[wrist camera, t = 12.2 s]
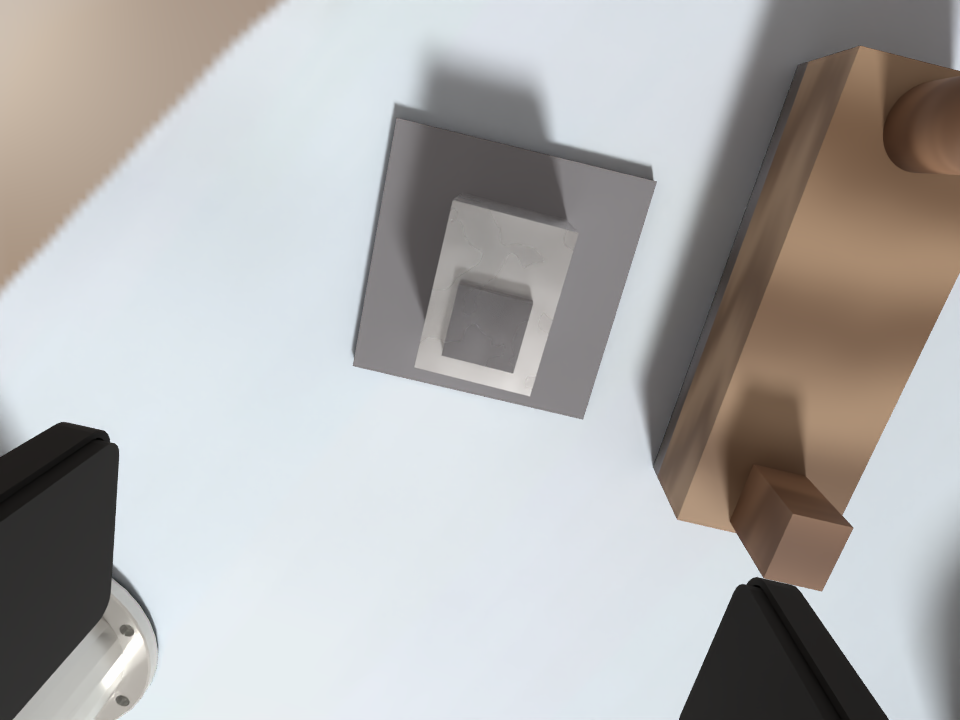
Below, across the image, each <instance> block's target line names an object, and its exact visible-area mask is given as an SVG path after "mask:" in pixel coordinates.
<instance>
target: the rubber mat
mask: <svg viewBox="0 0 960 720" xmlns="http://www.w3.org/2000/svg"><path fill="white" fill-rule="evenodd" d="M656 183H657V182H656V181H652V180H648V179H644V178H640V177H636V176H632V175H628V174H624V173H620V172H616V171H612V170H607V169H603V168H599V167H595V166H591V165H587V164H583V163H579V162H575V161H571V160H567V159H563V158H559V157H554V156H550V155H546V154H542V153H538V152H534V151H530V150H526V149H522V148H518V147H514V146H510V145H506V144H501V143H497V142H493V141H489V140H485V139H481V138H477V137H473V136H469V135H465V134H461V133H457V132H453V131H448V130H444V129H440V128H436V127H432V126H428V125H424V124H420V123H416V122H412V121H408V120H404V119H400V118H396V123H395V129H394V135H393V140H392V146H391V152H390V157H389V163H388V169H387V174H386V180H385V186H384V192H383V197H382V203H381V209H380V214H379V220H378V226H377V231H376V237H375V243H374V248H373V254H372V260H371V265H370V271H369V277H368V282H367V288H366V294H365V300H364V305H363V311H362V317H361V322H360V328H359V334H358V339H357V345H356V351H355V356H354V362H353V366H355V367H360V368H364V369H368V370H373V371H377V372H381V373H386V374H390V375H394V376H398V377H403V378H407V379H411V380H416V381H420V382H424V383H429V384H433V385H437V386H441V387H446V388H450V389H454V390H459V391H463V392H467V393H472V394H476V395H480V396H484V397H489V398H493V399H497V400H502V401H506V402H510V403H515V404H519V405H523V406H527V407H532V408H536V409H540V410H545V411H549V412H553V413H558V414H562V415H566V416H570V417H575V418H579V419H583V418H584V414H585V411H586V408H587V405H588V401H589V398H590V395H591V392H592V389H593V385H594V382H595V379H596V376H597V373H598V369H599V366H600V363H601V360H602V356H603V353H604V350H605V347H606V344H607V340H608V337H609V334H610V331H611V328H612V324H613V321H614V318H615V315H616V311H617V308H618V305H619V302H620V299H621V295H622V292H623V289H624V286H625V283H626V279H627V276H628V273H629V270H630V266H631V263H632V260H633V257H634V254H635V250H636V247H637V244H638V241H639V238H640V234H641V231H642V228H643V225H644V221H645V218H646V215H647V212H648V209H649V205H650V202H651V199H652V196H653V192H654V189H655V186H656ZM461 193H466V194H470V195H473V196H477V197H481V198H485V199H489V200H492V201H496V202H500V203H504V204H508V205H511V206H515V207H519V208H523V209H527V210H531V211H534V212H538V213H542V214H546V215H550V216H553V217H557V218H561V219H565V220H568V222H569V223H570V224H571V225H572V226H573V227H574V228H575V229H576V230H577V232H578V233H579V234H578V237H577V241H576V244H575V247H574V251H573V254H572V257H571V261H570V264H569V267H568V271H567V274H566V277H565V281H564V284H563V287H562V291H561V294H560V297H559V301H558V304H557V307H556V311H555V314H554V318H553V321H552V324H551V328H550V331H549V334H548V338H547V341H546V344H545V348H544V351H543V354H542V358H541V361H540V364H539V368H538V371H537V374H536V378H535V381H534V384H533V388H532V391H531V394H530V396H526V395H522V394H518V393H515V392H511V391H507V390H503V389H499V388H495V387H491V386H487V385H483V384H479V383H475V382H471V381H467V380H463V379H459V378H455V377H451V376H447V375H443V374H439V373H435V372H431V371H427V370H423V369H419V368H415V367H414V366H415V362H416V358H417V353H418V349H419V345H420V340H421V336H422V332H423V327H424V323H425V319H426V314H427V310H428V306H429V301H430V297H431V293H432V288H433V284H434V280H435V275H436V271H437V267H438V262H439V258H440V254H441V249H442V245H443V241H444V236H445V232H446V228H447V223H448V219H449V215H450V210H451V206H452V202H453V200H454V199H455V198H456V197H457V196H458V195H460V194H461Z"/></svg>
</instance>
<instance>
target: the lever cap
mask: <svg viewBox="0 0 960 720" xmlns="http://www.w3.org/2000/svg"><path fill="white" fill-rule="evenodd" d="M578 234H579V233H578V232H577V230H576V229H575V228H574V227H573V226H572V225H571V224H570V223H569V222H568V220H565V219H561V218H557V217H553V216H550V215H546V214H542V213H538V212H534V211H531V210H527V209H523V208H519V207H515V206H511V205H508V204H504V203H500V202H496V201H492V200H489V199H485V198H481V197H477V196H473V195H470V194H466V193H461V194H460V195H458V196H457V197H456V198H455V199H454V200H453V202H452V206H451V210H450V215H449V219H448V223H447V228H446V232H445V236H444V241H443V245H442V249H441V254H440V258H439V262H438V267H437V271H436V275H435V280H434V284H433V288H432V293H431V297H430V301H429V306H428V310H427V314H426V319H425V323H424V327H423V332H422V336H421V340H420V345H419V349H418V353H417V358H416V362H415V366H414V367H415V368H419V369H423V370H427V371H431V372H435V373H439V374H443V375H447V376H451V377H455V378H459V379H463V380H467V381H471V382H475V383H479V384H483V385H487V386H491V387H495V388H499V389H503V390H507V391H511V392H515V393H518V394H522V395H526V396H530V394H531V391H532V388H533V384H534V381H535V378H536V374H537V371H538V368H539V364H540V361H541V358H542V354H543V351H544V348H545V344H546V341H547V338H548V334H549V331H550V328H551V324H552V321H553V318H554V314H555V311H556V307H557V304H558V301H559V297H560V294H561V291H562V287H563V284H564V281H565V277H566V274H567V271H568V267H569V264H570V261H571V257H572V254H573V251H574V247H575V244H576V241H577V237H578Z"/></svg>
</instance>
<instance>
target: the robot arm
mask: <svg viewBox="0 0 960 720" xmlns="http://www.w3.org/2000/svg"><path fill="white" fill-rule="evenodd" d="M118 465H119V449H118V446H117V445H116V444H115V443H110V438H109V436H108V434H107V433H106V432H105V431H103V430H99V429H94V428H90V427H85V426H81V425H76V424H72V423H67V422H61V423H58V424H56V425H54V426H52V427H51V428H49V429H47V430H45V431H44V432H42V433H40V434H39V435H37V436H35V437H34V438H32V439H30V440H29V441H27V442H25V443H23V444H22V445H20V446H18V447H17V448H15V449H13V450H12V451H10V452H8V453H7V454H5V455H3V456H1V457H0V720H116V719H118V718H120V717H121V716H123V715H124V714H126V713H127V712H128V711H130V710H131V709H132V708H133V707H134V706H135V705H136V704H137V703H138V701H139V700H140V699H141V698H142V696H143V695H144V693H145V692H146V690H147V689H148V687H149V686H150V684H151V682H152V680H153V677H154V675H155V672H156V669H157V660H158V649H157V643H156V637H155V634H154V632H153V629H152V626H151V624H150V621H149V619H148V618H147V616H146V615H145V613H144V611H143V610H142V608H141V607H140V605H139V604H138V603H137V601H136V600H135V599H134V598H133V597H132V596H131V595H130V594H129V592H128V591H127V590H126V589H124V588H123V587H122V586H121V585H120V584H118V583H117V582H116V581H115V580H114V579H112V565H113V549H114V532H115V515H116V498H117V482H118ZM679 720H889V719H888V718H887V716H886V715H885V713H884V712H883V710H882V709H881V707H880V706H879V705H878V703H877V702H876V700H875V699H874V697H873V696H872V694H871V693H870V692H869V690H868V689H867V687H866V686H865V684H864V683H863V681H862V680H861V679H860V677H859V676H858V674H857V673H856V671H855V670H854V668H853V667H852V665H851V664H850V663H849V661H848V660H847V658H846V657H845V655H844V654H843V652H842V651H841V650H840V648H839V647H838V645H837V644H836V642H835V641H834V639H833V638H832V637H831V635H830V634H829V632H828V631H827V629H826V628H825V626H824V625H823V624H822V622H821V621H820V619H819V618H818V616H817V615H816V613H815V612H814V611H813V609H812V608H811V606H810V605H809V603H808V602H807V600H806V599H805V598H804V596H803V595H802V593H801V592H800V591H799V590H798V589H797V588H796V587H795V586H793V585H789V584H785V583H780V582H776V581H772V580H767V579H763V578H758V577H756V578H752V579H751V580H750V581H749V582H748V583H747V585H745V584H741V585H739V586H738V587H737V588H736V589H735V591H734V593H733V595H732V597H731V600H730V602H729V604H728V607H727V609H726V611H725V614H724V616H723V618H722V621H721V623H720V625H719V627H718V630H717V632H716V634H715V637H714V639H713V641H712V644H711V646H710V648H709V651H708V653H707V655H706V657H705V660H704V662H703V664H702V667H701V669H700V671H699V674H698V676H697V678H696V680H695V683H694V685H693V687H692V690H691V692H690V694H689V697H688V699H687V701H686V704H685V706H684V708H683V710H682V713H681V715H680V718H679Z"/></svg>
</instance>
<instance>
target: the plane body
mask: <svg viewBox="0 0 960 720" xmlns="http://www.w3.org/2000/svg"><path fill="white" fill-rule="evenodd" d="M959 273H960V71H958V70H954V69H950V68H946V67H942V66H938V65H934V64H930V63H926V62H922V61H918V60H914V59H910V58H906V57H903V56H899V55H895V54H891V53H887V52H883V51H879V50H875V49H871V48H867V47H863V46H858V47H854V48H851V49H848V50H845V51H841V52H838V53H835V54H832V55H829V56H825V57H822V58H819V59H816V60H813V61H809V62H806V63H803V64H800V65H798V67H797V70H796V72H795V75H794V78H793V81H792V83H791V86H790V89H789V92H788V95H787V97H786V100H785V103H784V106H783V108H782V111H781V114H780V117H779V119H778V122H777V125H776V128H775V131H774V133H773V136H772V139H771V142H770V144H769V147H768V150H767V153H766V156H765V158H764V161H763V164H762V167H761V169H760V172H759V175H758V178H757V181H756V183H755V186H754V189H753V192H752V194H751V197H750V200H749V203H748V206H747V208H746V211H745V214H744V217H743V219H742V222H741V225H740V228H739V230H738V233H737V236H736V239H735V242H734V244H733V247H732V250H731V253H730V255H729V258H728V261H727V264H726V267H725V269H724V272H723V275H722V278H721V280H720V283H719V286H718V289H717V292H716V294H715V297H714V300H713V303H712V305H711V308H710V311H709V314H708V317H707V319H706V322H705V325H704V328H703V330H702V333H701V336H700V339H699V341H698V344H697V347H696V350H695V353H694V355H693V358H692V361H691V364H690V366H689V369H688V372H687V375H686V378H685V380H684V383H683V386H682V389H681V391H680V394H679V397H678V400H677V403H676V405H675V408H674V411H673V414H672V416H671V419H670V422H669V425H668V428H667V430H666V433H665V436H664V439H663V441H662V444H661V447H660V450H659V452H658V455H657V458H656V461H655V464H654V466H653V468H654V470H655V473H656V475H657V477H658V479H659V481H660V483H661V486H662V488H663V490H664V492H665V494H666V496H667V499H668V501H669V503H670V505H671V507H672V509H673V512H674V514H675V516H676V518H677V520H681V521H685V522H690V523H694V524H699V525H703V526H707V527H712V528H716V529H720V530H725V531H729V532H734V533H737V535H738V536H739V538H740V540H741V541H742V543H743V545H744V546H745V548H746V550H747V551H748V553H749V555H750V556H751V558H752V560H753V561H754V563H755V565H756V566H757V568H758V570H759V571H760V573H761V575H762V576H763V578H765V579H769V580H774V581H778V582H783V583H787V584H791V585H796V586H800V587H805V588H809V589H814V590H818V591H822V590H823V588H824V586H825V584H826V582H827V580H828V578H829V576H830V574H831V572H832V570H833V568H834V566H835V564H836V562H837V560H838V558H839V556H840V554H841V552H842V550H843V548H844V546H845V544H846V542H847V540H848V538H849V536H850V534H851V532H852V530H853V527H852V526H851V525H850V523H849V522H848V521H847V520H846V519H845V518H844V517H843V516H842V515H843V513H844V511H845V509H846V507H847V505H848V503H849V501H850V498H851V496H852V494H853V492H854V490H855V488H856V486H857V484H858V482H859V480H860V478H861V476H862V474H863V472H864V470H865V467H866V465H867V463H868V461H869V459H870V457H871V455H872V453H873V451H874V449H875V447H876V445H877V443H878V441H879V439H880V436H881V434H882V432H883V430H884V428H885V426H886V424H887V422H888V420H889V418H890V416H891V414H892V412H893V410H894V407H895V405H896V403H897V401H898V399H899V397H900V395H901V393H902V391H903V389H904V387H905V385H906V383H907V381H908V379H909V376H910V374H911V372H912V370H913V368H914V366H915V364H916V362H917V360H918V358H919V356H920V354H921V352H922V350H923V348H924V345H925V343H926V341H927V339H928V337H929V335H930V333H931V331H932V329H933V327H934V325H935V323H936V321H937V319H938V316H939V314H940V312H941V310H942V308H943V306H944V304H945V302H946V300H947V298H948V296H949V294H950V292H951V290H952V288H953V285H954V283H955V281H956V279H957V277H958V275H959Z"/></svg>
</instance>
